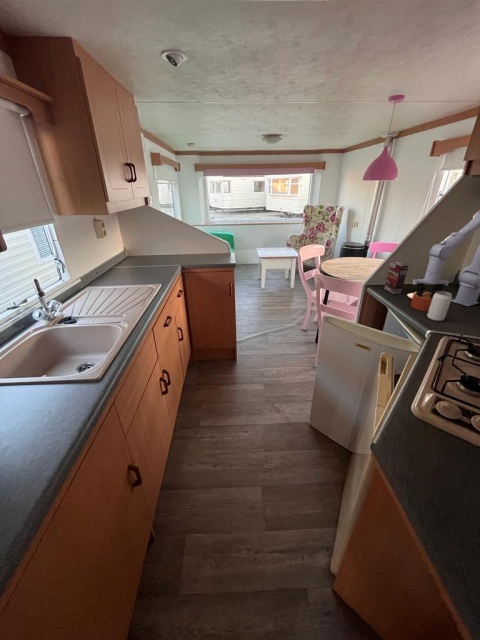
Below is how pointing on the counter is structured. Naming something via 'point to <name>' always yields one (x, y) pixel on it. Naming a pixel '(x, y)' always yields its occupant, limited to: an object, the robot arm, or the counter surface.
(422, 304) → the pot
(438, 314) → the can
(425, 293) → the bun
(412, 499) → the counter surface
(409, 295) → the lid
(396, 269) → the supplement box
